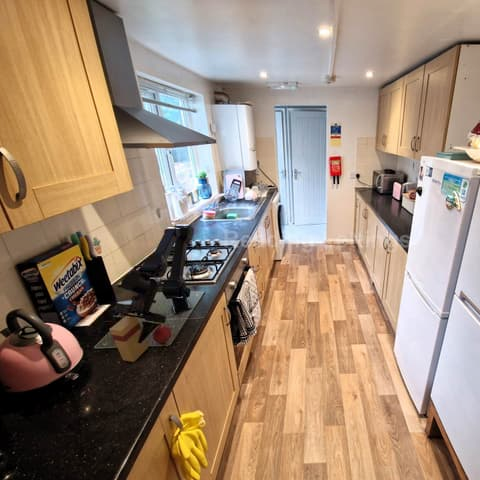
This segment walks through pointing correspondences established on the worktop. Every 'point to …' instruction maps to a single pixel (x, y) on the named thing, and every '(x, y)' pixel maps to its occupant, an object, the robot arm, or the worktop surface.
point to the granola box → (128, 338)
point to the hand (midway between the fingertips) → (127, 341)
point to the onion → (162, 334)
